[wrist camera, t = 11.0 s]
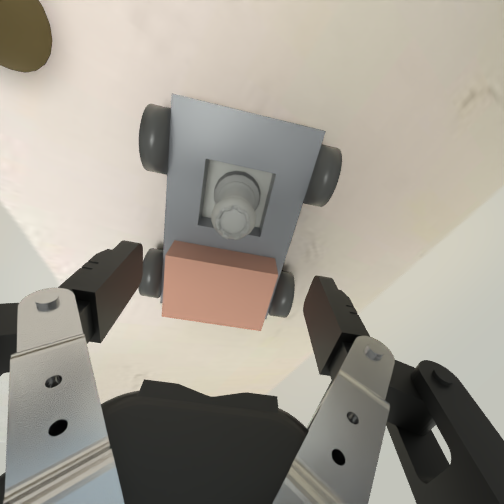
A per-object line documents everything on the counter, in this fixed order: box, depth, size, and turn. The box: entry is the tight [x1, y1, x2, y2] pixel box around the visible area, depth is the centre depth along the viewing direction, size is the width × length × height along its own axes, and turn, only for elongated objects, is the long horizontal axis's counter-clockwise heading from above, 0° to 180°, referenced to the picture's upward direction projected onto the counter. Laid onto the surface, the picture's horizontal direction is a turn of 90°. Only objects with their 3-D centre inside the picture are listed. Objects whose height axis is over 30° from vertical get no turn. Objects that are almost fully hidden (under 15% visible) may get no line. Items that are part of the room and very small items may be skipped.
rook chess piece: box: [211, 171, 261, 240], centre depth 21 cm, size 4×4×8 cm
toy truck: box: [139, 94, 342, 331], centre depth 24 cm, size 15×20×6 cm
